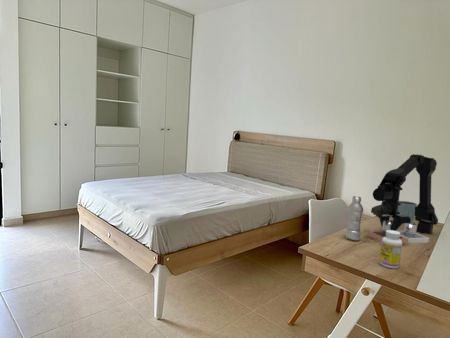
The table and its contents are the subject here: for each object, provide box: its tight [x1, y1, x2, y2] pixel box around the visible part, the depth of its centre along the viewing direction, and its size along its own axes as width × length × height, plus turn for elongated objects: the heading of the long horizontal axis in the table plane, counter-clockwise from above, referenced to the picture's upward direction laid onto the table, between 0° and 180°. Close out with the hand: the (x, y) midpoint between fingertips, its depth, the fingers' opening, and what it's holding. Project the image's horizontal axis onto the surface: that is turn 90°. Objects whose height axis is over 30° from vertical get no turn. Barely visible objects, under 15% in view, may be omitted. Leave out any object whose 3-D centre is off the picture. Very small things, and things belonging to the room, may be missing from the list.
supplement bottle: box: [379, 230, 403, 269], centre depth 116 cm, size 7×7×13 cm
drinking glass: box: [397, 200, 418, 225], centre depth 181 cm, size 10×10×12 cm
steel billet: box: [381, 219, 391, 237], centre depth 145 cm, size 5×5×7 cm
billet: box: [403, 223, 418, 238], centre depth 147 cm, size 5×5×7 cm
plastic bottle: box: [345, 196, 364, 241], centre depth 143 cm, size 6×7×20 cm
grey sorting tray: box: [367, 230, 431, 245], centre depth 146 cm, size 24×12×3 cm, turn 103°
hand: (387, 232), depth 145 cm, fingers closed on steel billet, 5 cm apart
